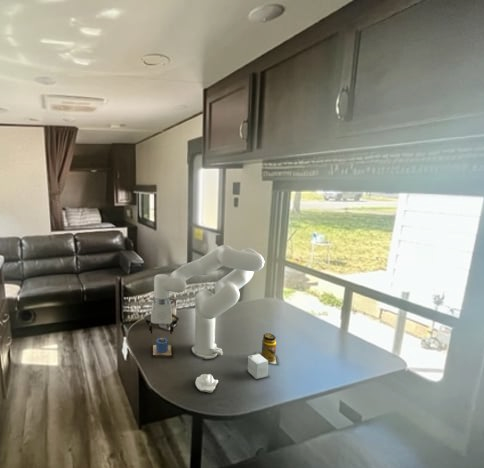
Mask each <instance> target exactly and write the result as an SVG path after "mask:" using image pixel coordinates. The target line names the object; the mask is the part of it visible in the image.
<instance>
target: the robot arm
mask: <svg viewBox="0 0 484 468" xmlns="http://www.w3.org/2000/svg"><path fill="white" fill-rule="evenodd" d="M264 266H265V259H264V257H263V255H262V254H261V253H259V252H257V251H256V250H254V249H253V248H251V247H245V248H244V247H243V249H241V250H238V249H235V248H234V247H232V246H230V245H228V244H222V245H219V246H217V247H216V248H214V249H212V250H211V251H209V252H208V253H206V254H204V255H203V256H201V257H200V258H198V259H195V260H192V261H190V262H187V263H185V264H182V265H181V266H180V267H178V268H176V269H175V270H174V271H172V272H171V273H170V274H169V275H168V274H166V273H158V274H156V275H155V276H154V278H153V296H152V297H150V300H151V301H152V303H151V309H150V312H149V313H146V314H145V315H143V319H144V322H145V323H146V325H148V331H149V332H150V334H151V335H153V324H155V325H159V324H170V330H169V334H170V335H172V334H173V332H174V327H175V326H176V325H177V323H178V321H179V320H180V316H179V315H177V314H176V315H175V314H173V313H172V307H171V302H170V301H169V298H170V292H172V293H183V292H185V291H186V289H187V286H188V285H187V281H188V280H189V279H191V278H193V277H195V276H208V275H210V274H211V273H214V272H215V271H217V270H218V269H220V268H221V267H225V268H228V269H232V270H231V271H230V272H228V274H226V275H224V276H223V277H222V278H220V279H219V280H217V281H216V282H215V284H214V286H213V289H214V292H215V293H213V292H211V291H210V290H208V289H202V290H199V291H197V293H196V295H195V298H194V312H195V317H194V318H195V320H194V321H195V322H194V323H195V324H194V345H193V346H192V347H191V351H192V353H193V354H195V355H196V356H198V357H202V359H203V360H211V359H214V358H216V357H217V356H218V355H219V356H223V353H224V352H223V349H222V348H220V347H218V346H217V343H216V342H215V341H216V340H215V339H216V318H217V317H219V316H221V315H222V314H224V313H225V312H226V311H228V310H229V309H231V308H232V307H234V306H235V305H236V304H237V303H238V301H239V300H240V298H241V297H240V296H241V295H240V289H241V288H243V287H244V286H246V284H248V283H249V282H250V281H251V279H252V278H253V276H254V274H255V272H259V271H261V270H262V269H263V268H264ZM172 317H173V318H175V320H174V321H172ZM148 318H150V320H149V319H148ZM175 324H176V325H175ZM174 325H175V326H174ZM173 326H174V327H173Z"/></svg>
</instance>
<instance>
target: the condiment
mask: <svg viewBox="0 0 484 468" xmlns="http://www.w3.org/2000/svg"><path fill="white" fill-rule="evenodd" d="M261 340H262V341H261V352H255V355H256V354H260V355H261V356H263V357H264V358H265V359H266V360H267V361H268V364H273V365H277V359H276V353H277V352H276V351H277V341H276V340H277V338H276V335H274V334H273V333H268V332H267V333H264V334H263V337H262V339H261Z"/></svg>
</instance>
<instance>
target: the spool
mask: <svg viewBox="0 0 484 468" xmlns="http://www.w3.org/2000/svg"><path fill="white" fill-rule="evenodd" d="M161 338H163V339H164V342H160V339H161ZM155 345H156V350H157V352H159V353H165V352H167V351H168V345H169V340H168V338H166V337H158V338H157V339H155Z"/></svg>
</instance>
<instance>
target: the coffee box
mask: <svg viewBox="0 0 484 468" xmlns="http://www.w3.org/2000/svg"><path fill="white" fill-rule="evenodd" d="M169 301H170V302H171V307H172V313H173V314H175V315H177V299H175V298H172V297H169ZM174 320H175V318H173V317H172V321H174ZM175 326H177V323H176V324H175V325H174V326H173V328H174V327H175ZM158 327H159V328H161V329H164V330H168V331H170V324H158Z"/></svg>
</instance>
